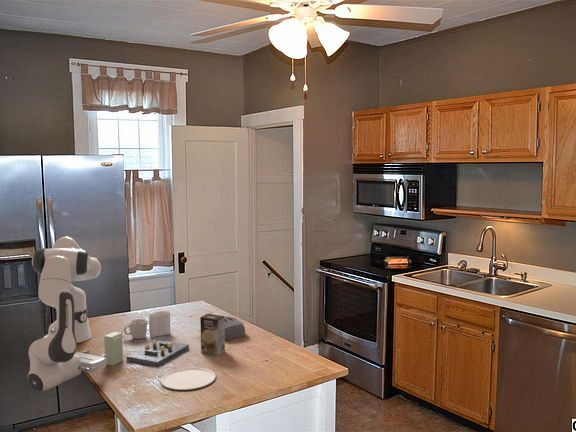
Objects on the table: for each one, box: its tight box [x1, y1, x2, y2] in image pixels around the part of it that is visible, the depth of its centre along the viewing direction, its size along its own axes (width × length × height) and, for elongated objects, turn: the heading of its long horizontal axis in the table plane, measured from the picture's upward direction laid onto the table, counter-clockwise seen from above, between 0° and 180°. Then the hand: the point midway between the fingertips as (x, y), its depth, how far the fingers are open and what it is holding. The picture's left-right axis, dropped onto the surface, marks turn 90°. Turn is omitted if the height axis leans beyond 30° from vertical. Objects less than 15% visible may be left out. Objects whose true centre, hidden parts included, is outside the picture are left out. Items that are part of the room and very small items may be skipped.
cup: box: [123, 318, 148, 340], centre depth 251 cm, size 11×8×8 cm
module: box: [103, 331, 124, 366], centre depth 220 cm, size 4×6×12 cm
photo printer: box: [148, 309, 171, 338], centre depth 255 cm, size 10×4×12 cm, turn 123°
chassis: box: [126, 339, 190, 368], centre depth 229 cm, size 16×22×5 cm
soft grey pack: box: [225, 316, 246, 341], centre depth 256 cm, size 15×8×20 cm
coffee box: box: [199, 313, 226, 356], centre depth 231 cm, size 9×6×16 cm
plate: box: [160, 366, 217, 391], centre depth 202 cm, size 21×21×1 cm
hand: (96, 354), depth 212 cm, fingers open, 8 cm apart
